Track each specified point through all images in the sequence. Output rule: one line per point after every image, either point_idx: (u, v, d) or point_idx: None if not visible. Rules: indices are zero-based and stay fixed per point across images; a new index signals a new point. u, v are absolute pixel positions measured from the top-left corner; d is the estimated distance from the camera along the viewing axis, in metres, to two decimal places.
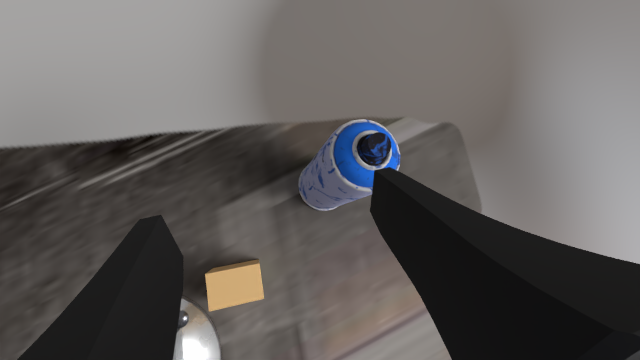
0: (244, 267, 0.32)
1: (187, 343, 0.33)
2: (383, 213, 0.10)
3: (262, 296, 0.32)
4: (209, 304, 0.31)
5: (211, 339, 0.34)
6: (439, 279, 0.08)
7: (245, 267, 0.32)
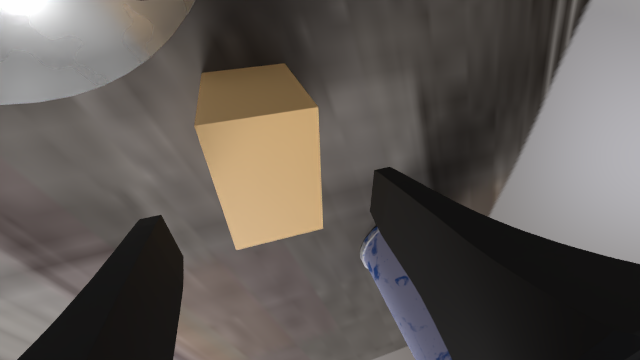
0: (319, 201, 0.12)
1: None
2: (383, 213, 0.10)
3: (241, 246, 0.12)
4: (218, 125, 0.09)
5: (78, 76, 0.11)
6: (439, 279, 0.08)
7: (318, 203, 0.12)
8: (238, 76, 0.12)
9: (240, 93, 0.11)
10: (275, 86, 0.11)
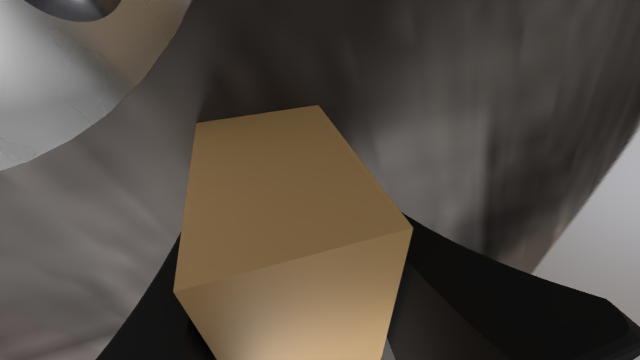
0: (382, 337, 0.07)
1: None
2: None
3: None
4: (224, 283, 0.04)
5: None
6: None
7: (381, 340, 0.08)
8: (252, 134, 0.08)
9: (260, 178, 0.06)
10: (316, 159, 0.07)
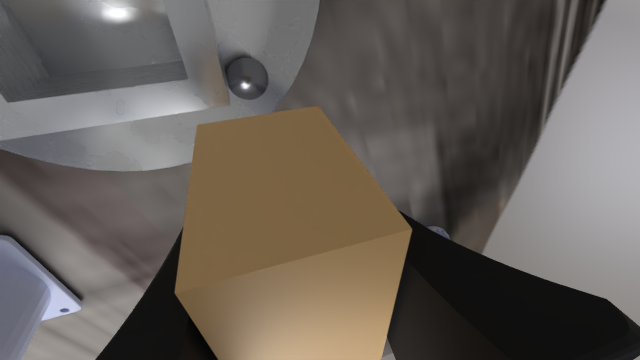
0: (382, 337, 0.08)
1: None
2: None
3: None
4: (224, 284, 0.04)
5: None
6: None
7: (381, 340, 0.08)
8: (252, 135, 0.08)
9: (260, 180, 0.06)
10: (316, 161, 0.07)
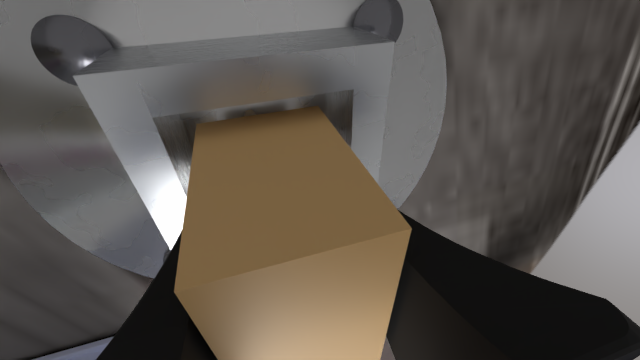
0: (381, 337, 0.08)
1: None
2: None
3: None
4: (224, 283, 0.04)
5: None
6: None
7: (380, 339, 0.08)
8: (251, 135, 0.08)
9: (260, 178, 0.06)
10: (315, 160, 0.07)
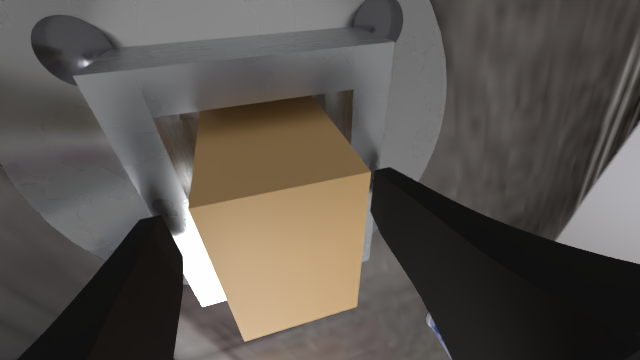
0: (356, 280, 0.09)
1: None
2: (383, 213, 0.10)
3: (252, 337, 0.09)
4: (225, 205, 0.06)
5: None
6: (439, 279, 0.08)
7: (355, 282, 0.09)
8: (248, 110, 0.09)
9: (254, 140, 0.08)
10: (301, 128, 0.08)
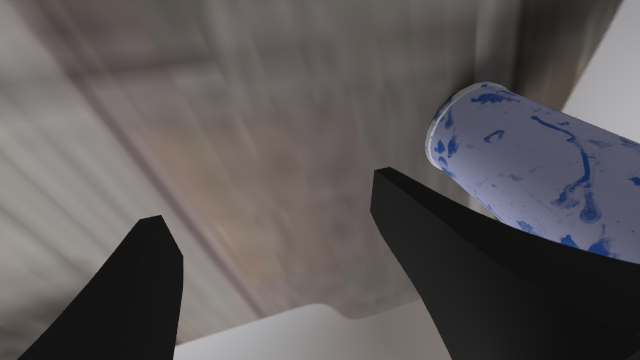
0: None
1: None
2: (383, 213, 0.10)
3: None
4: None
5: None
6: (439, 279, 0.08)
7: None
8: None
9: None
10: None
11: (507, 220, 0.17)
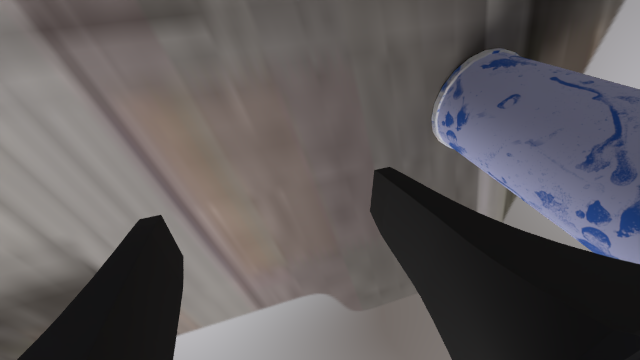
0: None
1: None
2: (383, 213, 0.10)
3: None
4: None
5: None
6: (439, 279, 0.08)
7: None
8: None
9: None
10: None
11: (524, 192, 0.16)
